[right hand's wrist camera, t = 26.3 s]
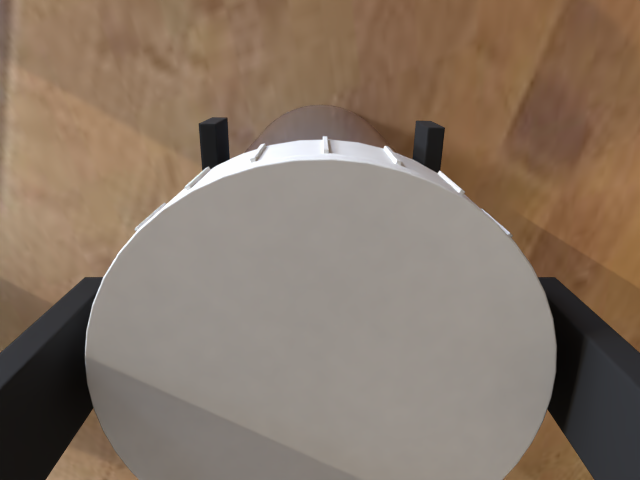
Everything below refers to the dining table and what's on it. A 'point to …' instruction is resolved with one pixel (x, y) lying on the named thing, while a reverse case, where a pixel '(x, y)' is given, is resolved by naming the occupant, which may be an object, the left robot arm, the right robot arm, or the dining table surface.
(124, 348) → the lid
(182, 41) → the dining table surface
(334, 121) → the jar
